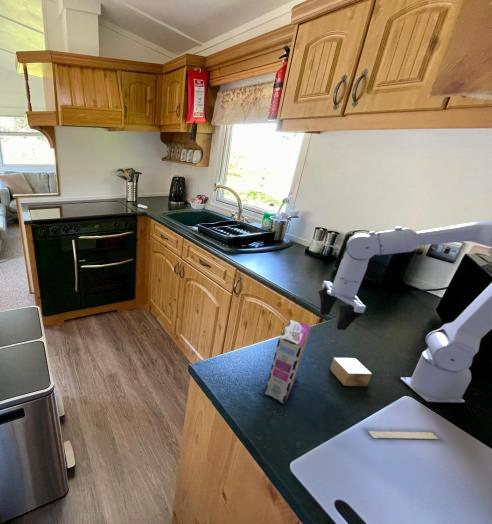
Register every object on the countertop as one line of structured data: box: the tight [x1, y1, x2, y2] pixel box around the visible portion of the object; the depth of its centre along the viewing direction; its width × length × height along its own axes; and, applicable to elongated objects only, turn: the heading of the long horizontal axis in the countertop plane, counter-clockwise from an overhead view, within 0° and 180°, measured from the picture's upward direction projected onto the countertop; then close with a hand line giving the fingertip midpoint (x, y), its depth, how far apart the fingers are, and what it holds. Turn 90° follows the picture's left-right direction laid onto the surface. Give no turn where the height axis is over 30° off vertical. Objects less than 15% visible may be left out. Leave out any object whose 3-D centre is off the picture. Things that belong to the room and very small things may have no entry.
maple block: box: [329, 357, 373, 387], centre depth 76 cm, size 6×6×4 cm
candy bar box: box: [264, 319, 312, 405], centre depth 70 cm, size 11×5×16 cm, turn 141°
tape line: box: [367, 430, 439, 440], centre depth 61 cm, size 14×2×1 cm, turn 91°
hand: (332, 321), depth 82 cm, fingers open, 7 cm apart
